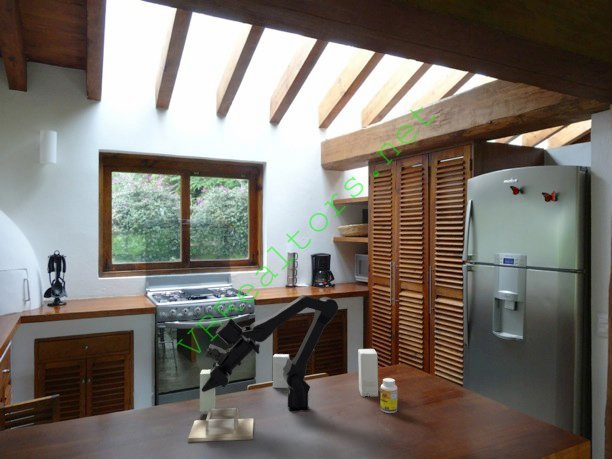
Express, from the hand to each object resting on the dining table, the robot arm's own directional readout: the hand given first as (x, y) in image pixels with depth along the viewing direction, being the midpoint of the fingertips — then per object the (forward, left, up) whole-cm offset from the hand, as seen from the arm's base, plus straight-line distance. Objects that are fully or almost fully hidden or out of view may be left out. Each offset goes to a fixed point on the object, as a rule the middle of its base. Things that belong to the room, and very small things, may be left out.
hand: (203, 388), depth 140 cm
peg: (-1, 0, -7) cm, 7 cm away
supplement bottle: (-61, +2, -9) cm, 62 cm away
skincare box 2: (-58, -15, -9) cm, 61 cm away
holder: (-7, +13, -8) cm, 17 cm away
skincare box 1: (-26, -25, -9) cm, 37 cm away
